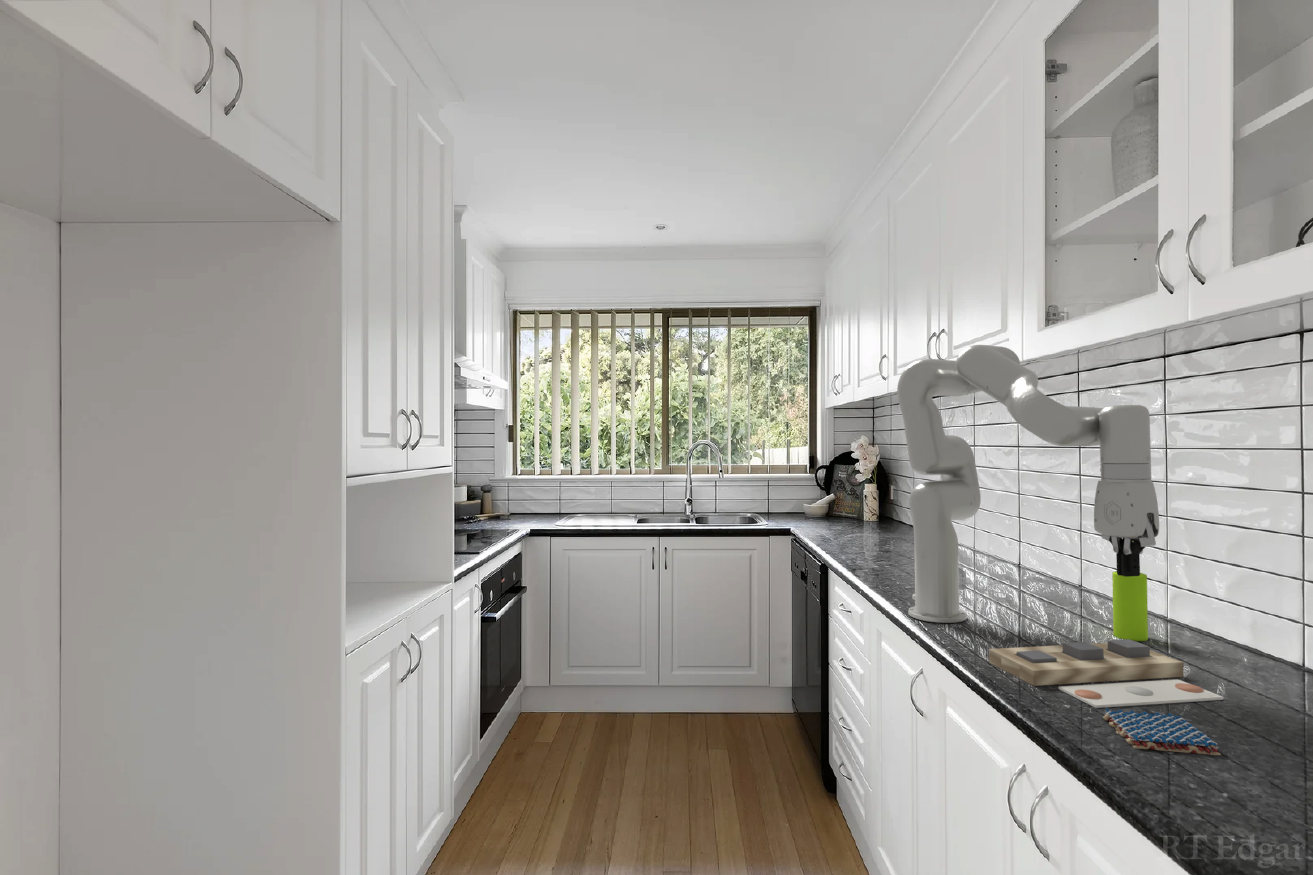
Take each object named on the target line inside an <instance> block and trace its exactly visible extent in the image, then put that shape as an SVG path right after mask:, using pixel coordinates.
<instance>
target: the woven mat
mask: <svg viewBox="0 0 1313 875" xmlns="http://www.w3.org/2000/svg"><path fill="white" fill-rule="evenodd" d="M1105 712H1106V713H1105V715H1104V716H1103V717H1102V718H1103V719H1104V720H1105V721H1108V725H1110V726H1111V728H1115V730H1116V731H1115V733H1116V734H1118V735H1120V736H1121V737H1123V738H1125V741H1126V742H1127V743H1128V744H1129V745H1131V746H1132V747H1133V748H1134V749H1138V750H1139V749H1142V750H1153V751H1154V750H1155V751H1166V752H1178V753H1187V754H1191V753H1192V754H1200V755H1212V756H1222V754H1221V752H1218V749H1219V746H1218V743H1217V742H1216V741H1213V740H1212V739H1211V738H1210V737H1208V735H1207V734H1204V732H1202V731H1200V730H1199V728H1196V727H1195V726H1193V724H1191V723H1190V722H1188V721H1187V720H1186V719H1184V718H1183V717H1182V716H1181V715H1174V714H1173V713H1167V714H1166V715H1165V714H1162V715H1161V713H1160V712H1154V713H1149V714H1148V712H1147V711H1142V712H1140V713H1139V712H1135V710H1130V712H1127V711H1124V712H1123V710H1122V709H1118V710H1117V711H1115V710H1112V711H1111V710H1110V709H1109V708H1105Z"/></svg>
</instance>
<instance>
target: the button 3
mask: <svg viewBox="0 0 1313 875" xmlns="http://www.w3.org/2000/svg"><path fill="white" fill-rule="evenodd" d="M1107 643H1108V651H1110V652H1113V653H1116V654H1118V655H1121V656H1123V657H1126V658H1135V657H1150V650H1151V649H1150V648H1151V647H1150V645H1147V644H1145V643H1140V642H1139V641H1133V640H1130V639H1126V640H1125V639H1109V640H1107Z"/></svg>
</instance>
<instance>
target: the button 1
mask: <svg viewBox="0 0 1313 875" xmlns="http://www.w3.org/2000/svg"><path fill="white" fill-rule="evenodd" d="M1017 656H1019V657H1021V658H1023V659H1025V660H1027V661H1029V662H1031V663H1046V662H1057V658H1055V657H1053V656H1051V655H1048V654H1046V653H1044V652H1042V651H1039V650H1038V651H1019V652H1017Z"/></svg>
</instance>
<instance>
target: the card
mask: <svg viewBox="0 0 1313 875" xmlns="http://www.w3.org/2000/svg"><path fill="white" fill-rule="evenodd" d="M1058 690H1060V691H1061V692H1063V693H1065V694H1066V695H1067V694H1068V695H1070V696H1071V697H1074V698H1075V699H1078V700H1080V701H1081V702H1083V703H1084V704H1087V705H1089V706H1091V707H1093V708H1095V709H1099V708H1100V709H1101V708H1114V707H1117V708H1118V707H1131V706H1147V705H1149V706H1150V705H1159V704H1160V705H1164V704H1177V703H1178V704H1179V703H1191V702H1192V703H1193V702H1205V701H1206V702H1207V701H1208V702H1209V701H1221V700H1223V701H1224V696H1222V695H1220V694H1216V693H1215V692H1212V691H1209V690H1207V689H1205V688H1203V687H1201V686H1198V685H1195V684H1191V683H1188V682H1185V681H1183V680H1181V679H1177V678H1176V679H1161V680H1160V679H1159V680H1146V681H1145V680H1144V681H1132V682H1131V681H1127V682H1115V683H1112V682H1111V683H1095V684H1082V685H1081V684H1080V685H1079V684H1078V685H1066V686H1065V685H1064V686H1058Z"/></svg>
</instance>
